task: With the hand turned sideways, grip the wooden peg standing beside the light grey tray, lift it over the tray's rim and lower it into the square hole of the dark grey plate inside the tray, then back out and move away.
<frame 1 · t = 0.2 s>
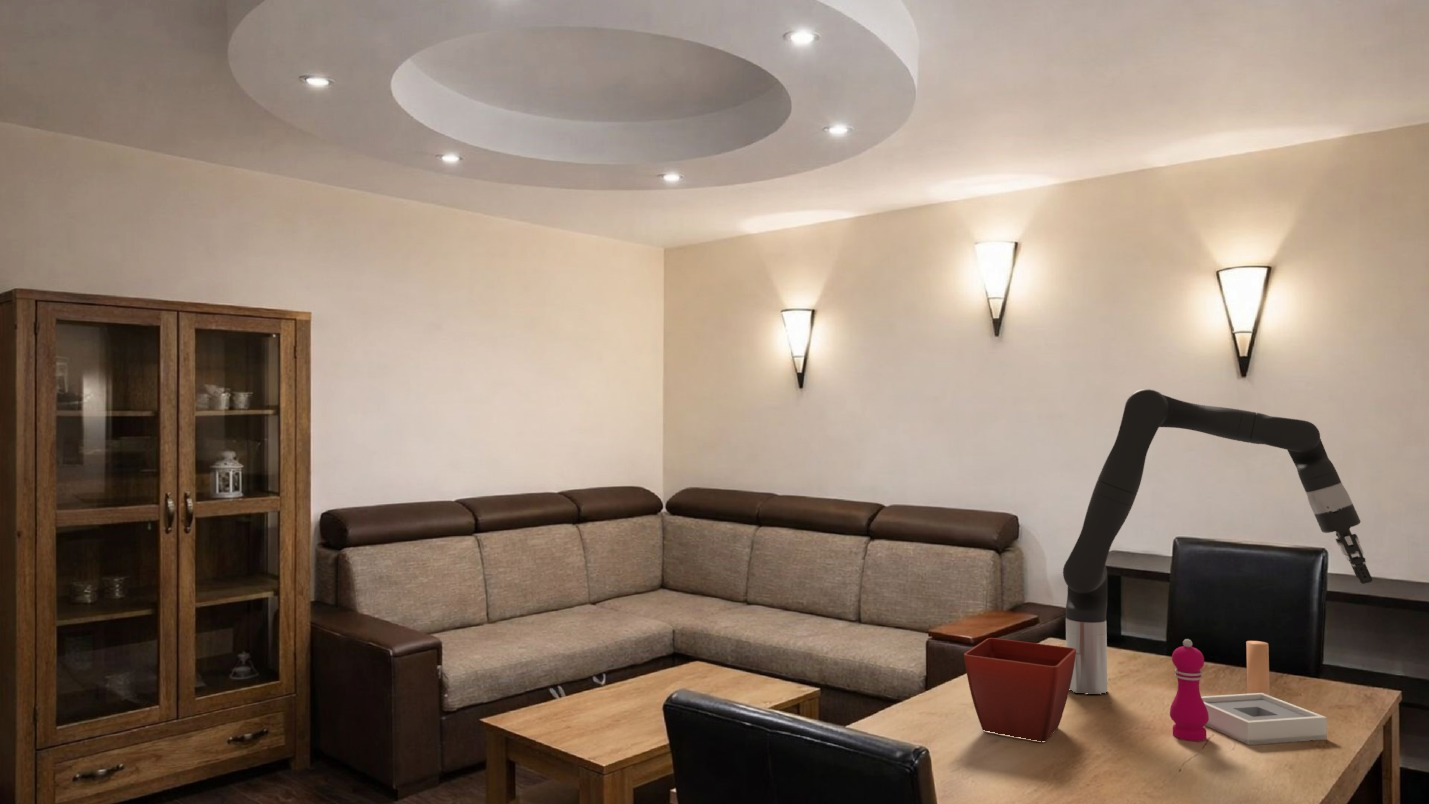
hand: (1365, 579, 202), 31 cm above the table, tool tilted 20°, fingers open, 8 cm apart
plant pot: (1021, 731, 200), on the table
pepper mill: (1189, 737, 196), on the table
tray: (1255, 728, 201), on the table
peg: (1258, 704, 218), on the table
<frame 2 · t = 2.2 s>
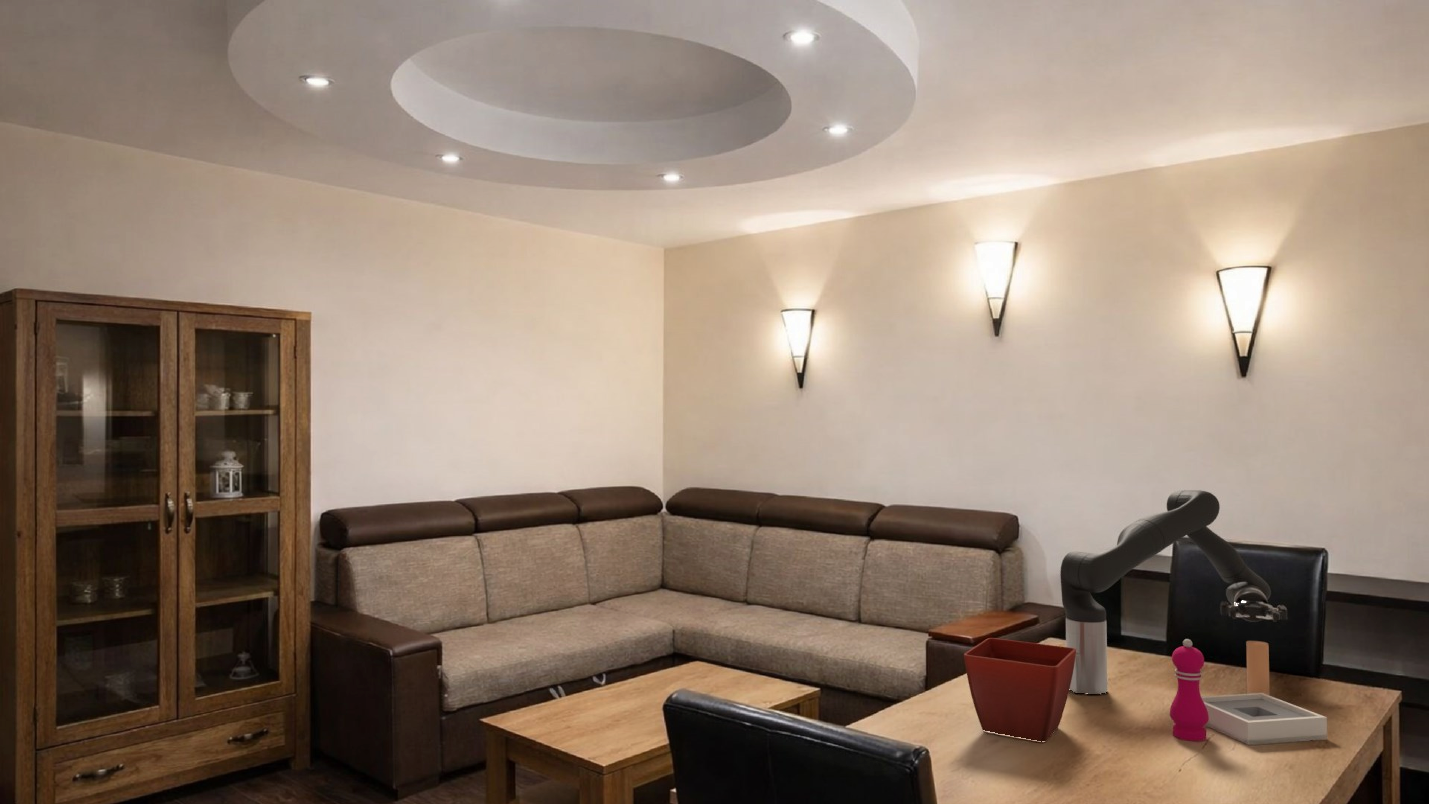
hand: (1254, 616, 228), 18 cm above the table, tool horizontal, fingers open, 8 cm apart
nothing on the table moved.
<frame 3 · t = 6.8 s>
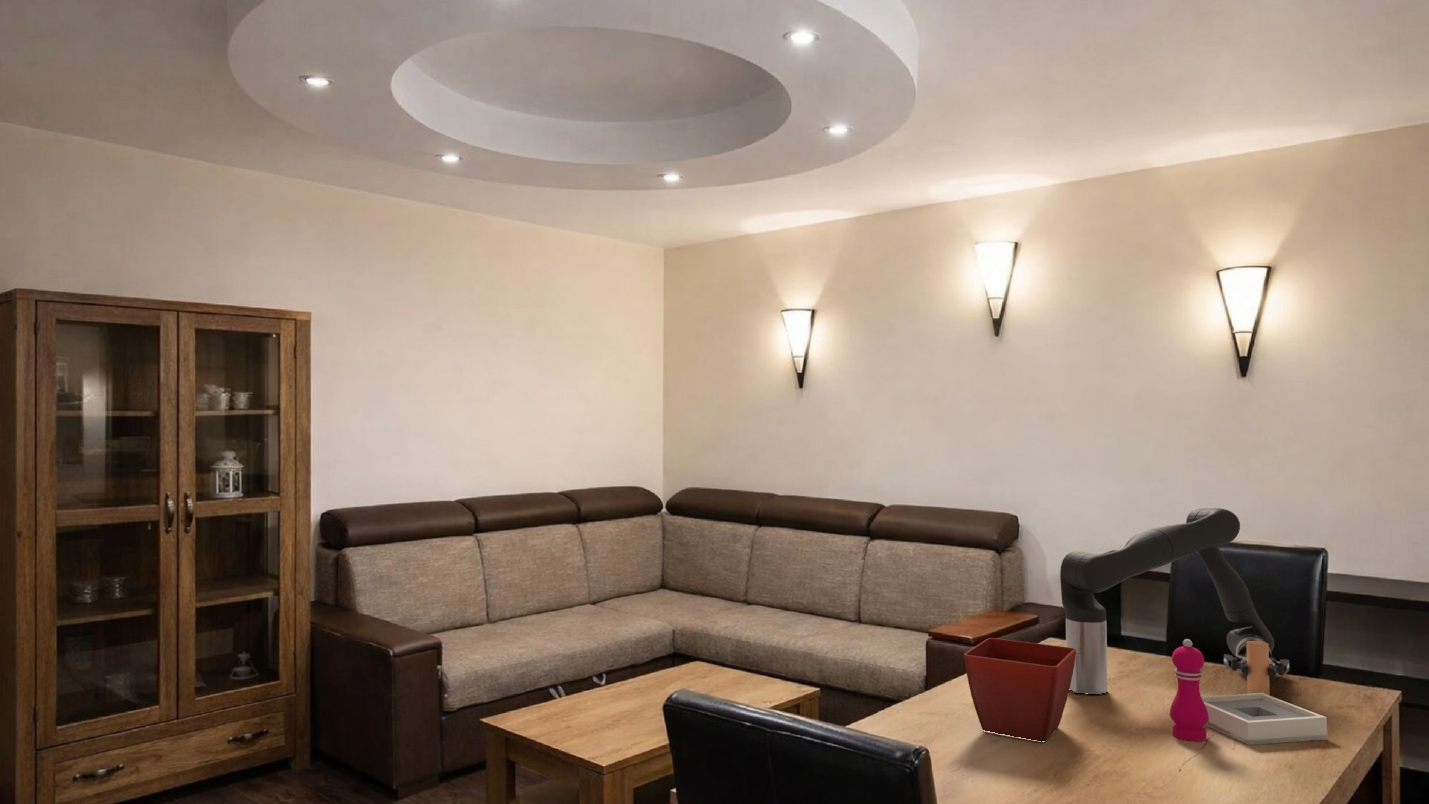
hand: (1258, 672, 215), 8 cm above the table, tool horizontal, fingers closed on peg, 4 cm apart
peg: (1258, 704, 218), on the table, touching gripper
everything else where it was.
when the fingers open (10 cm above the table, at t = 12.3 s): peg drops 1 cm, resting on tray.
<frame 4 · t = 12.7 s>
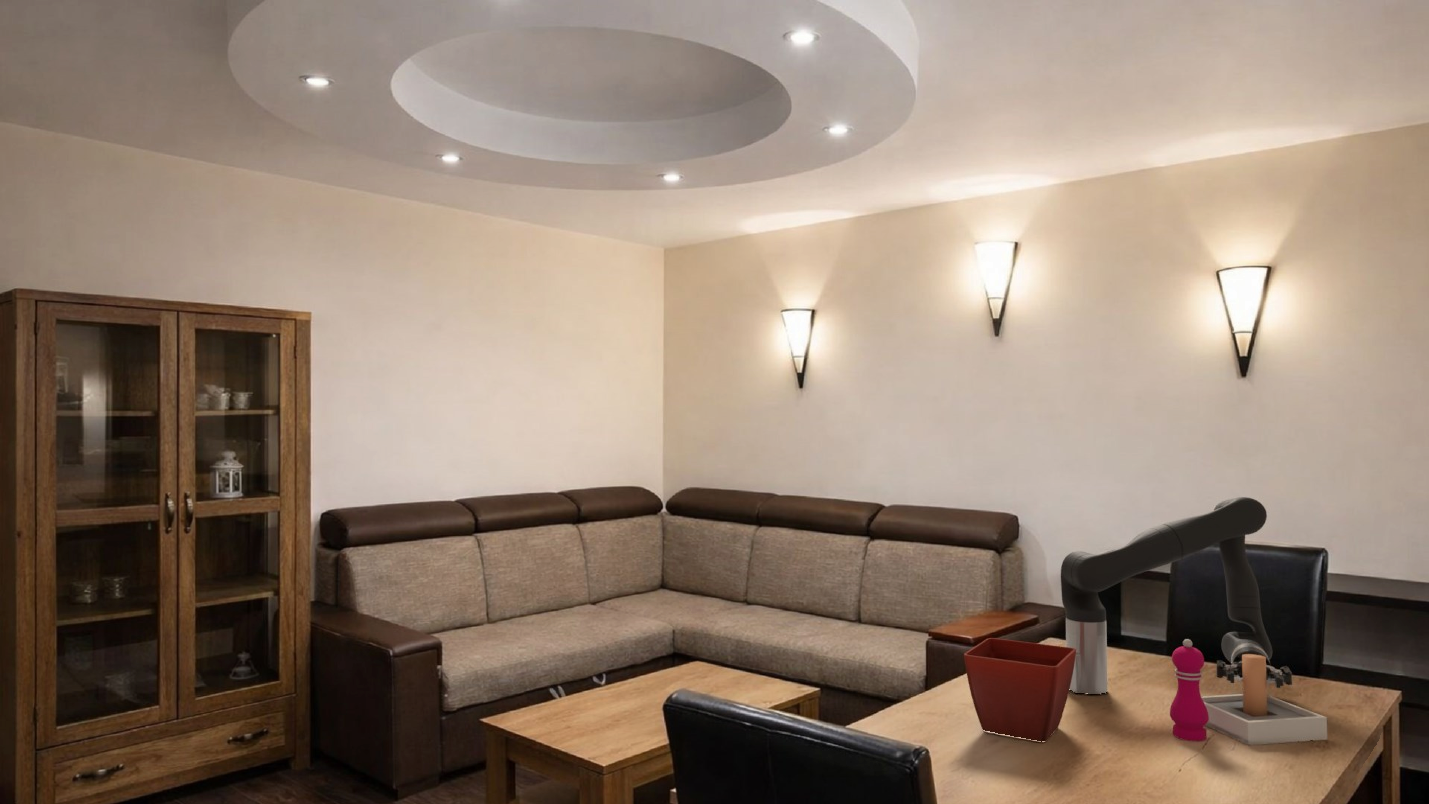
hand: (1255, 680, 199), 10 cm above the table, tool horizontal, fingers open, 8 cm apart
peg: (1255, 723, 201), point 1 cm above the table, touching tray
everything else where it was.
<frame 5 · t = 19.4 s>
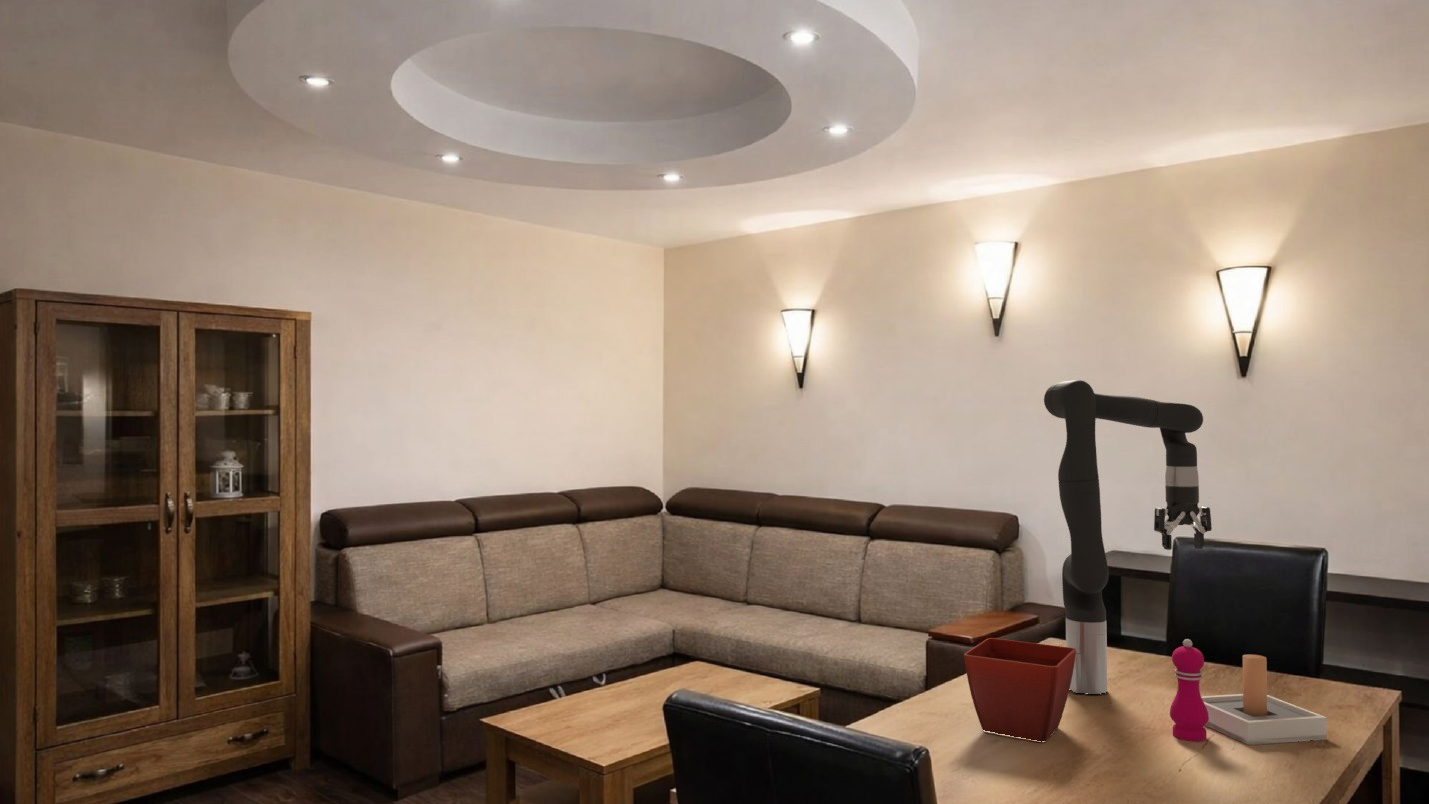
hand: (1183, 549, 237), 33 cm above the table, tool pointing down, fingers open, 8 cm apart
nothing on the table moved.
at the end: peg 0.1 cm off-centre on the tray, point 1.0 cm above the tray's base; peg tilted 1°; the gripper is holding nothing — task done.
